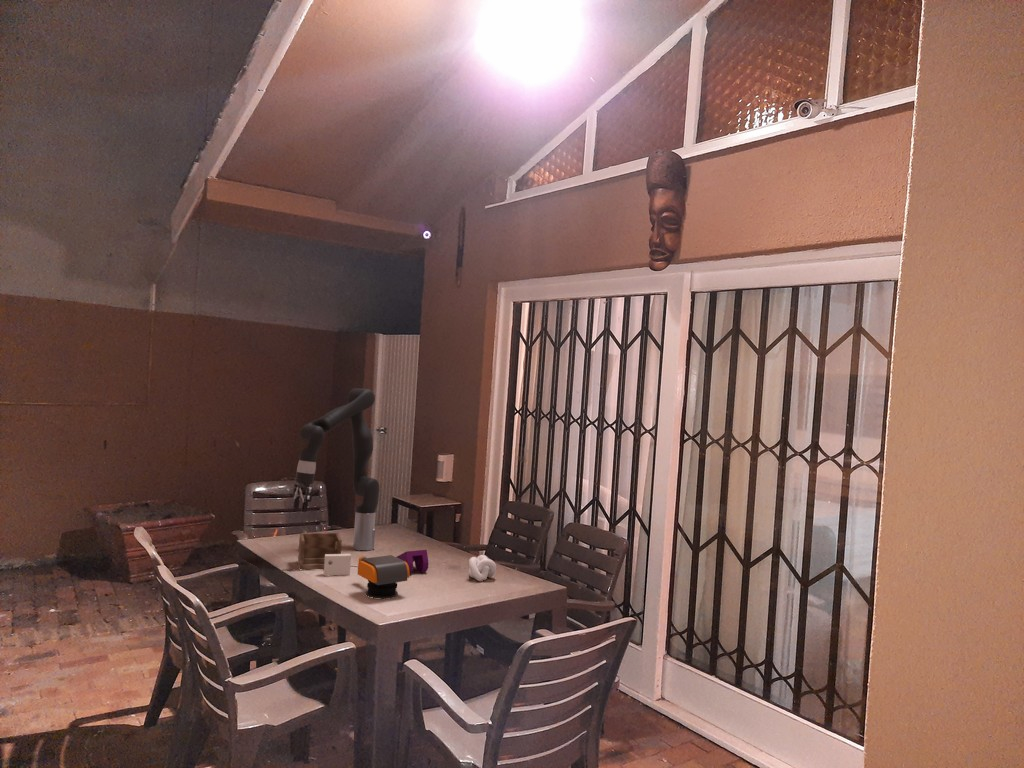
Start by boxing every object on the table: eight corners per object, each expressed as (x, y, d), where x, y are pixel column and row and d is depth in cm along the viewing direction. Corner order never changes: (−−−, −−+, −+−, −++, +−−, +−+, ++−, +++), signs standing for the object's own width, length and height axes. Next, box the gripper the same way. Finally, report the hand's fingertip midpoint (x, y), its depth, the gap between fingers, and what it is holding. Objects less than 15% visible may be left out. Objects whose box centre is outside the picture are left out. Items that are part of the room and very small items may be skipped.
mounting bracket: (391, 580, 295) (408, 572, 282) (389, 560, 298) (406, 551, 285) (411, 578, 300) (429, 569, 287) (409, 558, 303) (426, 549, 290)
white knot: (483, 584, 277) (485, 562, 277) (459, 579, 283) (460, 557, 283) (498, 579, 286) (500, 557, 286) (474, 573, 293) (476, 552, 293)
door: (348, 573, 281) (350, 553, 281) (350, 576, 278) (351, 556, 278) (323, 574, 278) (324, 554, 278) (324, 576, 274) (325, 556, 274)
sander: (376, 579, 275) (378, 547, 275) (409, 596, 256) (411, 562, 256) (342, 584, 266) (344, 551, 266) (373, 602, 246) (375, 567, 246)
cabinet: (336, 560, 300) (338, 532, 300) (339, 569, 286) (341, 540, 286) (298, 561, 294) (299, 533, 294) (299, 570, 281) (301, 540, 281)
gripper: (321, 474, 290) (315, 513, 288) (307, 471, 301) (301, 508, 299) (304, 472, 286) (298, 512, 284) (290, 469, 296) (284, 507, 295)
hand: (299, 510), depth 292 cm, fingers open, 8 cm apart
